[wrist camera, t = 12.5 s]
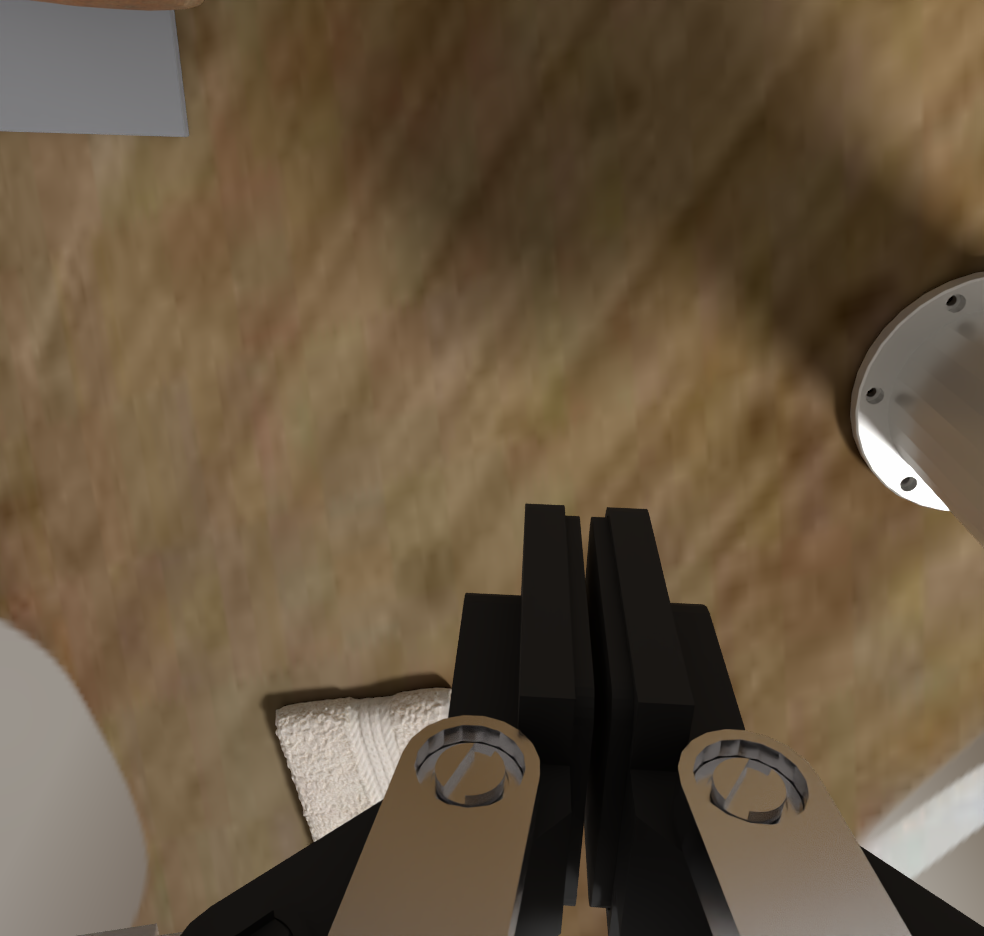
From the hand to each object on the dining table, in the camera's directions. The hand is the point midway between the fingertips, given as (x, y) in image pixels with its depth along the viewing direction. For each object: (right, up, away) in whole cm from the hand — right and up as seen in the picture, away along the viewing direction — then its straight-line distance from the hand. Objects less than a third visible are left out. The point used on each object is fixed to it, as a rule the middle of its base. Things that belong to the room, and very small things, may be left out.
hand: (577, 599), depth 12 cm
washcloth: (-8, -20, +46) cm, 51 cm away
